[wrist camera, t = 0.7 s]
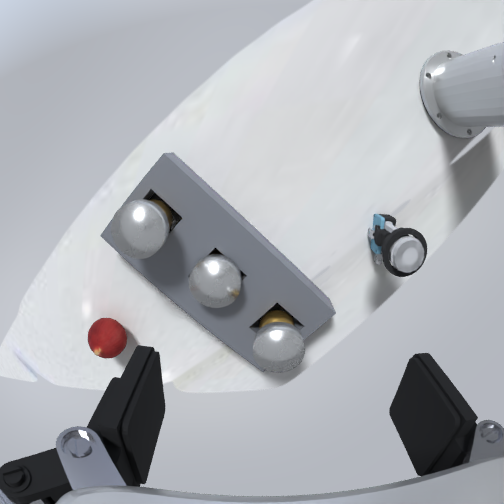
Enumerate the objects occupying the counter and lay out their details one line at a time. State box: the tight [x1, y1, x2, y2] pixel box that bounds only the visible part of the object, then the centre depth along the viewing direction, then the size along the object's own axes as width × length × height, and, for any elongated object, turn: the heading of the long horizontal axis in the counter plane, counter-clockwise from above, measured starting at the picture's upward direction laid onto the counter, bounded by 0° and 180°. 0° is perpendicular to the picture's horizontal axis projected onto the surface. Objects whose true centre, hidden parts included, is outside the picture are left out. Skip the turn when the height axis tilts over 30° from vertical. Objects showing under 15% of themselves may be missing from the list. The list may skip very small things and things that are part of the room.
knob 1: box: [111, 199, 173, 259], centre depth 33 cm, size 6×6×6 cm
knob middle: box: [189, 249, 242, 308], centre depth 38 cm, size 6×6×6 cm
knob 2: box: [253, 310, 305, 372], centre depth 37 cm, size 6×6×6 cm
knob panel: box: [101, 153, 336, 372], centre depth 40 cm, size 13×28×4 cm, turn 46°
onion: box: [88, 318, 127, 358], centre depth 41 cm, size 6×6×8 cm
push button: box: [368, 214, 427, 277], centre depth 35 cm, size 7×5×10 cm
